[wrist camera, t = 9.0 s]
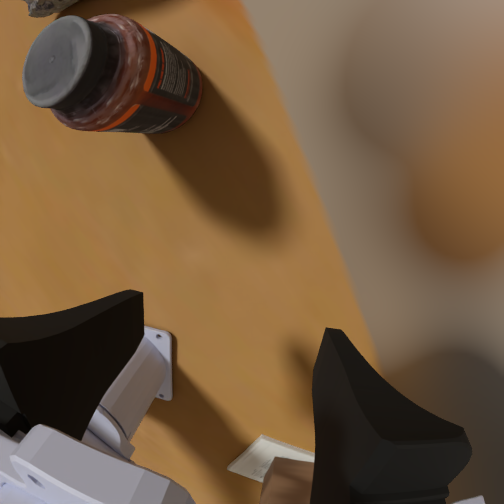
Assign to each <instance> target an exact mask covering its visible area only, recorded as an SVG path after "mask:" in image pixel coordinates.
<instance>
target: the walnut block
mask: <svg viewBox="0 0 504 504" xmlns="http://www.w3.org/2000/svg"><path fill="white" fill-rule="evenodd" d="M313 471H314V462H306V461H299V460H293V459H287V458H281V457H276V456H275V457H274V459H273V461H272V463H271V465H270V467H269V469H268V471H267V472H266V474H265V476H264V479H263V485H262V491H261V497H260V503H259V504H310V496H311V489H312V480H313Z"/></svg>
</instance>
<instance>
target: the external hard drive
mask: <svg viewBox="0 0 504 504" xmlns="http://www.w3.org/2000/svg"><path fill="white" fill-rule="evenodd" d="M275 456H276V457H281V458H287V459H293V460H299V461H306V462H314V459H315V453H313V452H310V451H307V450H304V449H301V448H298V447H295V446H292V445H289V444H286V443H284V442H281V441H278V440H276V439H273V438H270V437H268V436H265V435H263V434H262V435H261V436H260V437H259V438H257V439H256V440H255V441H254V442H253V443H252V444H251V445H250V446H249V447H248V448H247V449H246V450H245V451H244V452H243V453H242V454H241V455H239V456H238V457H237V458H236V459H235V460H234V461H233V462H232V463H231V464H229V465H228V467H227V470H229V471H232V472H234V473H237V474H240V475H242V476H245V477H248V478H251V479H253V480H256V481H259V482H262V483H263V479H264V476H265V474H266V472H267V471H268V469H269V467H270V465H271V463H272V461H273V459H274V457H275Z"/></svg>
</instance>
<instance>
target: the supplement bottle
mask: <svg viewBox="0 0 504 504" xmlns="http://www.w3.org/2000/svg"><path fill="white" fill-rule="evenodd" d="M22 80H23V87H24V92H25V94H26V97H27V98H28V100H29V101H30V102H31V103H32V104H34V105H35V106H38V107H41V108H51V111H52V113H53V114H54V116H55V117H56V118H57V119H58V120H59V121H60V122H61V123H63V124H64V125H65V126H67V127H69V128H72V129H76V130H81V131H97V132H131V133H149V134H157V133H165V132H169V131H172V130H174V129H176V128H178V127H180V126H181V125H183V124H184V123H185V122H186V121H187V120H188V119H189V118H190V117H191V116H192V115H193V113H194V112H195V110H196V109H197V107H198V105H199V103H200V99H201V96H202V79H201V75H200V72H199V70H198V68H197V67H196V65H195V64H194V63H193V62H192V61H191V60H190V59H189V58H188V57H187V56H185V55H184V54H183V53H181V52H180V51H178V50H177V49H176V48H174V47H173V46H172V45H170V44H169V43H167V42H166V41H164V40H163V39H161V38H160V37H159V36H157V35H156V34H154V33H153V32H151V31H150V30H148V29H147V28H145V27H144V26H142V25H140V24H139V23H137V22H136V21H134V20H132V19H130V18H128V17H125V16H122V15H118V14H104V15H99V16H95V17H92V18H90V19H87V20H86V19H84V18H82V17H78V16H73V15H71V16H65V17H61V18H59V19H57V20H55V21H53V22H52V23H50V24H49V25H48V26H46V27H45V28H44V29H43V30H42V32H41V33H40V34H39V35H38V36H37V38H36V39H35V41H34V42H33V44H32V45H31V47H30V49H29V52H28V54H27V56H26V59H25V63H24V67H23V76H22Z"/></svg>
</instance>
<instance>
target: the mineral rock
mask: <svg viewBox="0 0 504 504" xmlns="http://www.w3.org/2000/svg"><path fill="white" fill-rule="evenodd" d="M23 1H25V2H26V3H27V4H28V10H29V12H30V13H29V16H30V17H36V18H38V17H46V16H49V15H52V14H53V13H58V12H61V11H62V10H64V9H65V8H67V7H69V6H70V5H72V4H74V3H75V2H77V1H78V0H23Z"/></svg>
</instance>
